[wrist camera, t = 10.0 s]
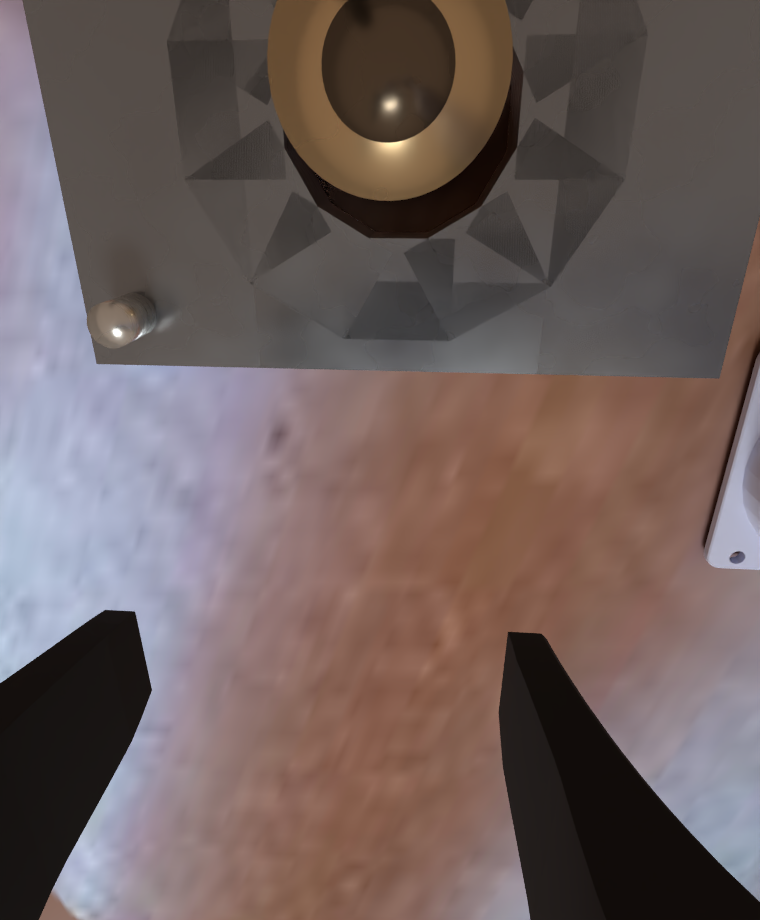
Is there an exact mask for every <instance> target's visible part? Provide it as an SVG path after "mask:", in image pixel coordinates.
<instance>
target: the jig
mask: <svg viewBox="0 0 760 920" xmlns="http://www.w3.org/2000/svg"><path fill="white" fill-rule="evenodd" d="M276 1H277V0H23V5H24V10H25V15H26V19H27V24H28V29H29V34H30V39H31V44H32V49H33V54H34V59H35V63H36V68H37V73H38V78H39V83H40V88H41V93H42V98H43V103H44V108H45V112H46V117H47V122H48V127H49V132H50V137H51V142H52V147H53V152H54V157H55V161H56V166H57V171H58V176H59V181H60V186H61V191H62V196H63V201H64V205H65V210H66V215H67V220H68V225H69V230H70V235H71V240H72V245H73V250H74V254H75V259H76V264H77V269H78V274H79V279H80V284H81V289H82V294H83V298H84V303H85V308H86V313H87V326H88V330H89V332H90V334H91V338H92V343H93V347H94V352H95V357H96V362H97V364H123V365H166V366H209V367H252V368H294V369H337V370H380V371H423V372H466V373H509V374H552V375H595V376H638V377H681V378H719V377H720V373H721V369H722V365H723V361H724V357H725V353H726V349H727V345H728V341H729V337H730V333H731V329H732V325H733V321H734V317H735V313H736V309H737V305H738V301H739V297H740V293H741V289H742V285H743V281H744V277H745V273H746V269H747V265H748V261H749V257H750V253H751V249H752V245H753V241H754V237H755V233H756V229H757V225H758V221H759V217H760V0H505V2H506V5H507V10H508V14H509V18H510V23H511V31H512V40H513V63H512V72H511V81H510V86H511V98H510V111H509V123H508V136H507V148H506V153H505V155H504V157H503V158H502V160H501V162H500V163H499V165H498V167H497V168H496V170H495V172H494V173H493V175H492V177H491V178H490V180H489V182H488V183H487V185H486V187H485V188H484V190H483V192H482V193H481V195H480V197H479V198H478V200H477V202H476V203H475V204H474V205H473V206H471V207H469V208H468V209H466V210H464V211H463V212H461V213H459V214H458V215H456V216H454V217H453V218H451V219H449V220H448V221H446V222H444V223H443V224H441V225H439V226H438V227H436V228H434V229H433V230H431V231H429V232H376V231H374V230H373V229H371V228H369V227H368V226H366V225H365V224H363V223H361V222H360V221H358V220H357V219H355V218H353V217H352V216H350V215H349V214H347V213H345V212H344V211H342V210H341V209H339V208H337V207H336V206H334V205H333V204H331V202H330V200H329V199H328V197H327V195H326V193H325V191H324V190H323V188H322V186H321V184H320V182H319V181H318V179H317V177H316V175H315V173H314V172H313V170H312V169H311V168H310V167H309V166H308V165H307V164H306V162H305V161H304V160H303V159H302V158H301V157H300V156H299V154H298V153H297V151H296V150H295V148H294V147H293V145H292V144H291V142H290V141H289V139H288V137H287V135H286V133H285V131H284V129H283V128H282V126H281V123H280V120H279V118H278V115H277V113H276V110H275V107H274V103H273V99H272V95H271V91H270V84H269V77H268V63H267V50H268V36H269V30H270V25H271V19H272V15H273V11H274V8H275V5H276Z"/></svg>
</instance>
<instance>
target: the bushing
mask: <svg viewBox="0 0 760 920" xmlns="http://www.w3.org/2000/svg"><path fill="white" fill-rule="evenodd" d="M267 63H268V77H269V84H270V91H271V95H272V99H273V103H274V107H275V110H276V113H277V115H278V118H279V120H280V123H281V126H282V128H283V129H284V131H285V133H286V135H287V137H288V139H289V141H290V142H291V144H292V145H293V147H294V148H295V150H296V151H297V153H298V154H299V156H300V157H301V158H302V159H303V160H304V161H305V162H306V164H307V165H308V166H309V167H310V168H311V169H312V170H313V171H315V172H316V173H317V174H318V175H319V176H320V177H321V178H323V179H324V180H326V181H327V182H329V183H330V184H332V185H333V186H335V187H337V188H339V189H341V190H343V191H345V192H347V193H349V194H352V195H355V196H358V197H361V198H366V199H372V200H380V201H395V200H405V199H409V198H413V197H417V196H421V195H423V194H426V193H428V192H431V191H433V190H435V189H437V188H439V187H441V186H442V185H444V184H446V183H448V182H449V181H450V180H452V179H453V178H454V177H456V176H457V175H458V174H460V173H461V172H462V171H463V170H464V169H465V168H466V167H467V166H468V165H469V164H470V163H471V162H472V161H473V160H474V159H475V157H476V156H477V155H478V154H479V152H480V151H481V150H482V149H483V147H484V146H485V144H486V143H487V141H488V139H489V138H490V136H491V135H492V133H493V131H494V129H495V127H496V125H497V122H498V120H499V118H500V116H501V113H502V110H503V107H504V104H505V101H506V99H507V94H508V90H509V85H510V81H511V72H512V63H513V40H512V31H511V23H510V18H509V14H508V10H507V5H506V2H505V0H277V1H276V5H275V8H274V11H273V15H272V19H271V25H270V30H269V36H268V50H267Z"/></svg>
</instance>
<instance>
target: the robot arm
mask: <svg viewBox="0 0 760 920" xmlns="http://www.w3.org/2000/svg"><path fill="white" fill-rule="evenodd" d="M737 551H740V553H739V554H738V555H737V556H735V557H731V558H730V556H731V554H732V553H734V552H737ZM704 557H705V559H706V560H707V562H708V563H709V564H710V565H711V566H713V567H717V568H731V569H753V570H760V353H759V354H758V356H757V358H756V361H755V365H754V368H753V372H752V376H751V379H750V383H749V387H748V390H747V394H746V398H745V402H744V405H743V409H742V413H741V416H740V420H739V424H738V427H737V431H736V435H735V438H734V442H733V446H732V449H731V453H730V457H729V460H728V464H727V468H726V471H725V475H724V479H723V482H722V486H721V490H720V493H719V497H718V501H717V504H716V508H715V512H714V515H713V519H712V523H711V526H710V530H709V534H708V537H707V541H706V545H705V548H704ZM151 691H152V688H151V684H150V679H149V674H148V670H147V665H146V660H145V656H144V651H143V646H142V642H141V637H140V633H139V628H138V623H137V619H136V614H135V612H132V611H113V610H104V611H103V612H101V613H100V614H98V615H97V616H95V617H94V618H92V619H91V620H89V621H88V622H86V623H85V624H84V625H82V626H81V627H79V628H78V629H76V630H75V631H74V632H72V633H71V634H69V635H68V636H67V637H65V638H64V639H62V640H61V641H60V642H58V643H57V644H55V645H54V646H53V647H51V648H50V649H48V650H47V651H46V652H44V653H43V654H41V655H40V656H39V657H37V658H36V659H34V660H33V661H31V662H30V663H29V664H27V665H26V666H24V667H23V668H21V669H20V670H19V671H17V672H16V673H14V674H13V675H12V676H10V677H9V678H7V679H6V680H4V681H3V682H2V683H0V920H39V918H40V915H41V913H42V911H43V909H44V906H45V904H46V902H47V900H48V897H49V895H50V893H51V891H52V889H53V887H54V885H55V883H56V881H57V879H58V877H59V875H60V873H61V871H62V869H63V867H64V865H65V863H66V861H67V859H68V857H69V855H70V854H71V852H72V850H73V848H74V846H75V844H76V843H77V841H78V839H79V837H80V835H81V834H82V832H83V830H84V828H85V826H86V824H87V823H88V821H89V819H90V817H91V815H92V814H93V812H94V810H95V808H96V806H97V804H98V803H99V801H100V799H101V797H102V795H103V794H104V792H105V790H106V788H107V786H108V785H109V783H110V781H111V779H112V777H113V775H114V773H115V772H116V770H117V768H118V766H119V764H120V762H121V760H122V759H123V757H124V755H125V753H126V751H127V749H128V747H129V745H130V743H131V742H132V739H133V737H134V734H135V732H136V730H137V727H138V725H139V722H140V720H141V718H142V715H143V712H144V710H145V707H146V704H147V702H148V699H149V696H150V694H151ZM499 722H500V736H501V749H502V760H503V770H504V775H505V781H506V786H507V792H508V797H509V803H510V808H511V814H512V819H513V824H514V830H515V835H516V840H517V846H518V851H519V857H520V862H521V867H522V873H523V878H524V883H525V889H526V894H527V899H528V906H529V913H530V919H531V920H760V902H759V901H758V900H757V899H756V898H755V897H754V896H753V895H752V894H751V893H750V892H749V891H748V890H747V889H746V888H745V887H743V886H742V885H741V884H740V883H739V882H738V881H737V880H736V879H735V878H734V877H733V876H732V875H731V874H730V873H729V872H728V871H727V870H726V869H725V868H724V867H723V866H722V865H721V864H720V863H719V862H718V861H717V860H716V859H715V858H714V857H713V856H712V855H711V854H710V853H709V852H708V851H707V850H706V849H705V848H704V846H703V845H702V844H701V843H700V842H699V841H698V840H697V839H696V838H695V837H694V836H693V835H692V834H691V833H690V832H689V831H688V829H687V828H686V827H685V826H684V825H683V824H682V823H681V822H680V821H679V820H678V818H677V817H676V816H675V815H674V814H673V813H672V812H671V811H670V810H669V808H668V807H667V806H666V805H665V804H664V803H663V802H662V800H661V799H660V798H659V797H658V796H657V795H656V793H655V792H654V791H653V790H652V789H651V787H650V786H649V785H648V784H647V783H646V781H645V780H644V779H643V778H642V777H641V775H640V774H639V773H638V771H637V770H636V769H635V768H634V766H633V765H632V764H631V763H630V761H629V760H628V759H627V758H626V756H625V755H624V754H623V753H622V751H621V750H620V749H619V747H618V746H617V745H616V743H615V742H614V741H613V739H612V738H611V737H610V735H609V734H608V733H607V731H606V730H605V728H604V727H603V726H602V724H601V723H600V721H599V720H598V719H597V717H596V716H595V714H594V713H593V712H592V710H591V709H590V707H589V706H588V705H587V703H586V702H585V700H584V699H583V697H582V696H581V694H580V693H579V691H578V690H577V688H576V687H575V685H574V683H573V682H572V680H571V679H570V677H569V676H568V674H567V673H566V671H565V669H564V668H563V666H562V665H561V663H560V661H559V660H558V658H557V656H556V655H555V653H554V651H553V650H552V648H551V646H550V644H549V643H548V641H547V639H546V638H545V637H544V636H543V635H542V634H537V633H519V632H508V637H507V646H506V654H505V663H504V671H503V680H502V689H501V697H500V706H499Z"/></svg>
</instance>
